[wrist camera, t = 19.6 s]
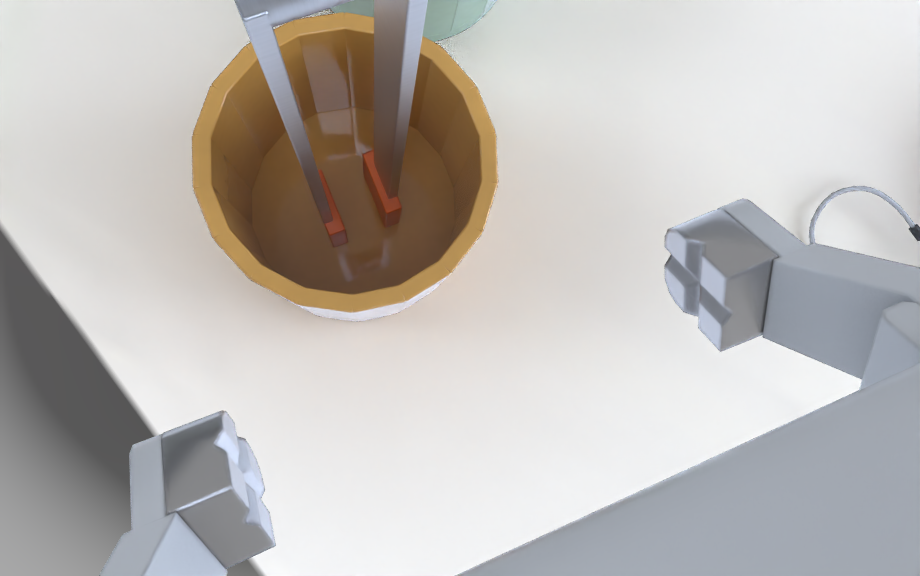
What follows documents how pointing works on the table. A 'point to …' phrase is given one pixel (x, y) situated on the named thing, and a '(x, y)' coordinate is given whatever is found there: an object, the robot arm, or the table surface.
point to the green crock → (433, 15)
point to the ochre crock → (342, 173)
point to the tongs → (394, 80)
